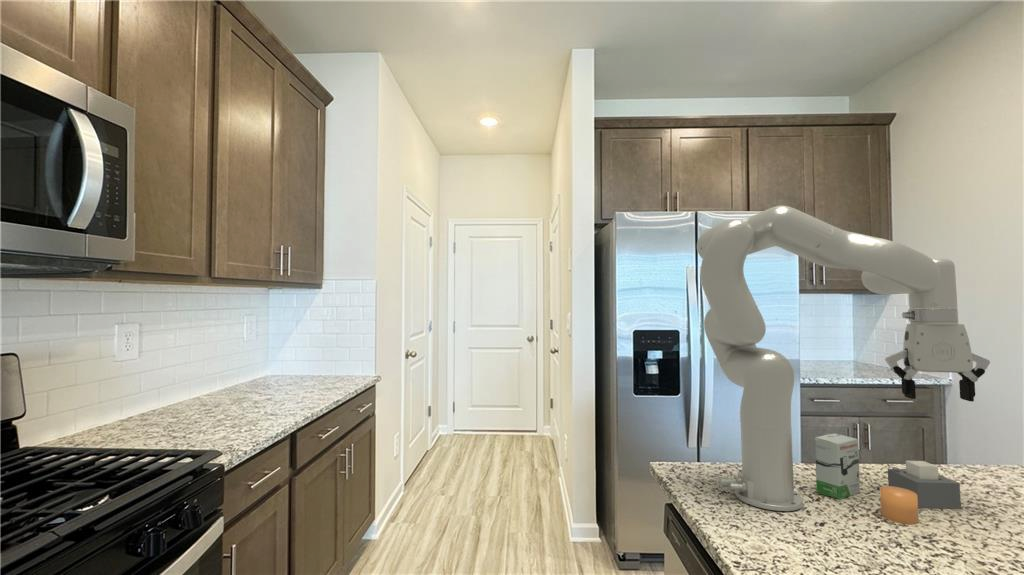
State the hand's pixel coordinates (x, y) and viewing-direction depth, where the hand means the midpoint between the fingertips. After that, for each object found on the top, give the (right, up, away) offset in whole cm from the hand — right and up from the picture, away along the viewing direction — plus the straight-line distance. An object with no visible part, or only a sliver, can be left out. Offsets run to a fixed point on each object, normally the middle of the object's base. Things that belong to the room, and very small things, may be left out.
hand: (938, 399), depth 96 cm
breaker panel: (-3, -21, 0) cm, 21 cm away
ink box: (-18, -22, +4) cm, 28 cm away
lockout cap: (-15, -21, -8) cm, 27 cm away
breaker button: (-3, -18, 0) cm, 18 cm away
